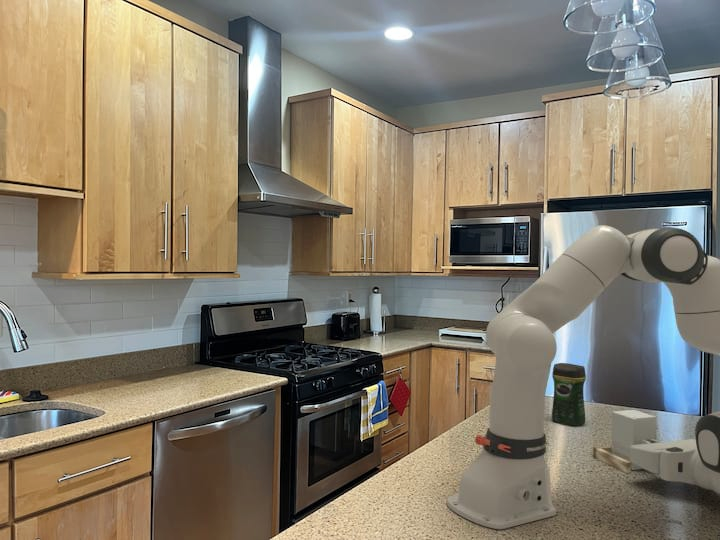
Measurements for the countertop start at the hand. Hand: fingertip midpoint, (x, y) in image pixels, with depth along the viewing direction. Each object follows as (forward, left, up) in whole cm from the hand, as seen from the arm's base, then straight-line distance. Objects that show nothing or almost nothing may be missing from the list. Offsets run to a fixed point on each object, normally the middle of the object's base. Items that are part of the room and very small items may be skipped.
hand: (645, 442), depth 130 cm
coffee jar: (+21, +33, -7) cm, 40 cm away
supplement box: (+1, +3, -7) cm, 8 cm away
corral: (+1, +4, -7) cm, 8 cm away
